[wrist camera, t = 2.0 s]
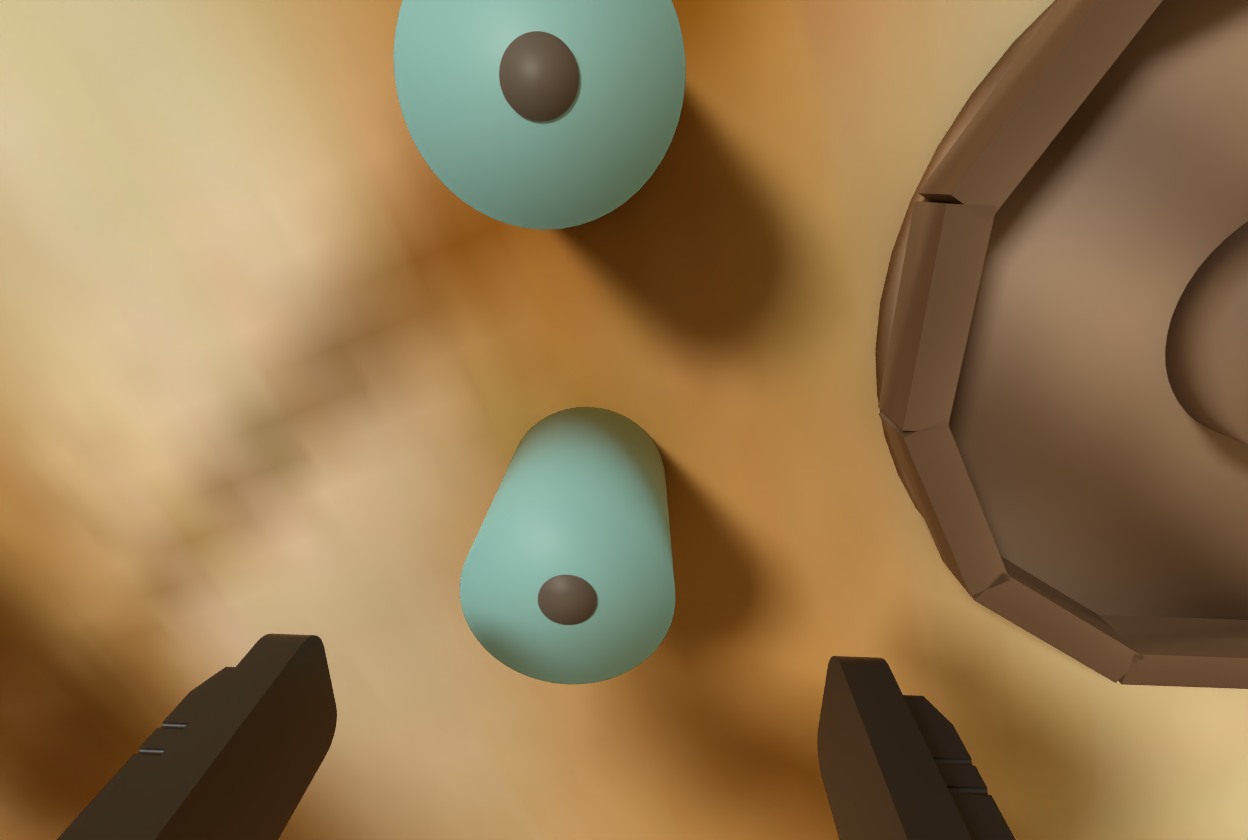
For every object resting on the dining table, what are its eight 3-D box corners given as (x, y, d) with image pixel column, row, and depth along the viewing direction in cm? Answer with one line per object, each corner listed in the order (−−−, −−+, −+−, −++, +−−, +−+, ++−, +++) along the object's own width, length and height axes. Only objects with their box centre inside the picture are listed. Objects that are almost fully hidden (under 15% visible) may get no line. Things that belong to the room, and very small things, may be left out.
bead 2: (614, 570, 19) (604, 716, 14) (484, 501, 18) (423, 628, 13) (695, 457, 18) (718, 572, 13) (558, 378, 17) (522, 465, 12)
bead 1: (607, 247, 16) (591, 281, 11) (448, 148, 15) (347, 131, 10) (707, 77, 14) (744, 18, 9) (537, -42, 14) (473, -179, 8)
